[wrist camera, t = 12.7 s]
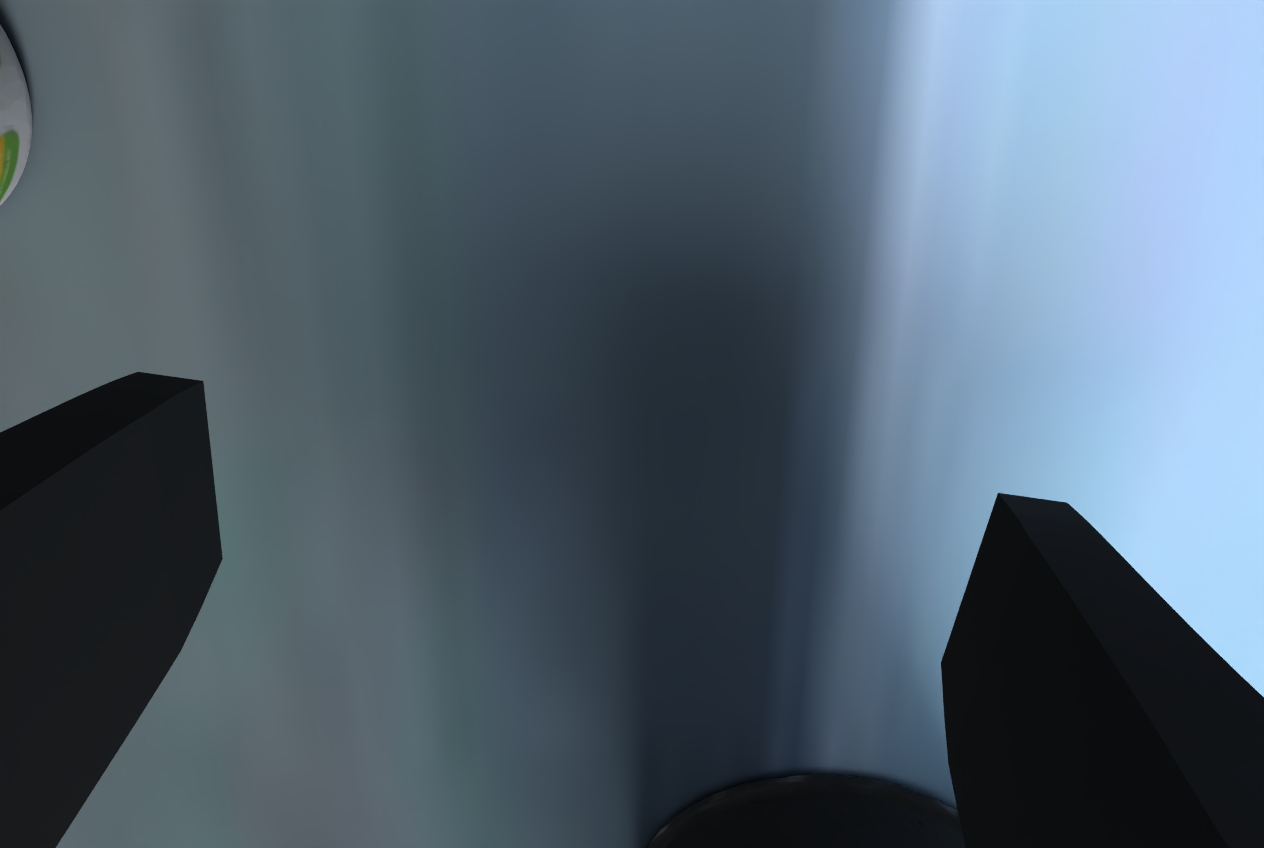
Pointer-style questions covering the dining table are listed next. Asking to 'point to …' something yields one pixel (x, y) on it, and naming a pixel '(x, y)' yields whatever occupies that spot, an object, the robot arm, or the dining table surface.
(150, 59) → the dining table surface
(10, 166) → the supplement bottle
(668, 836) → the milk frother
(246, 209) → the dining table surface
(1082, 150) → the dining table surface
